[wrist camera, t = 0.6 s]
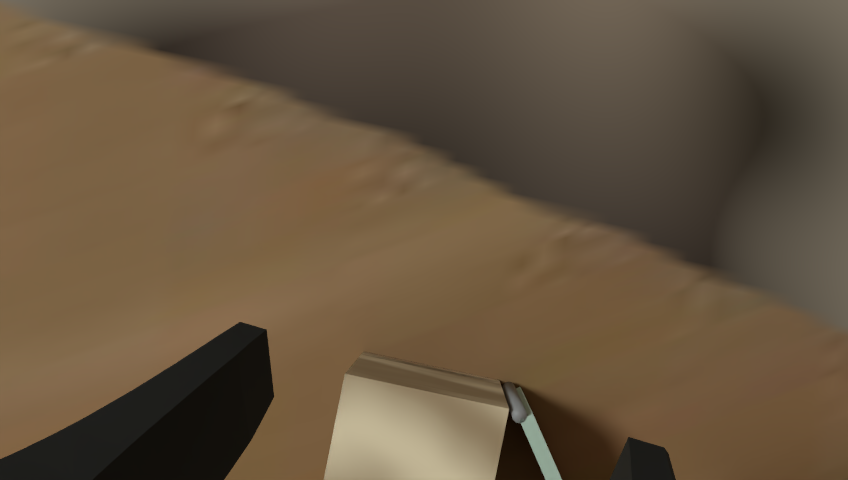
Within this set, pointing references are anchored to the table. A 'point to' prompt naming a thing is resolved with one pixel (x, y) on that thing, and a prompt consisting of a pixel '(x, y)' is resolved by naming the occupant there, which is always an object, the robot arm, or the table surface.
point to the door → (530, 429)
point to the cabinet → (416, 423)
